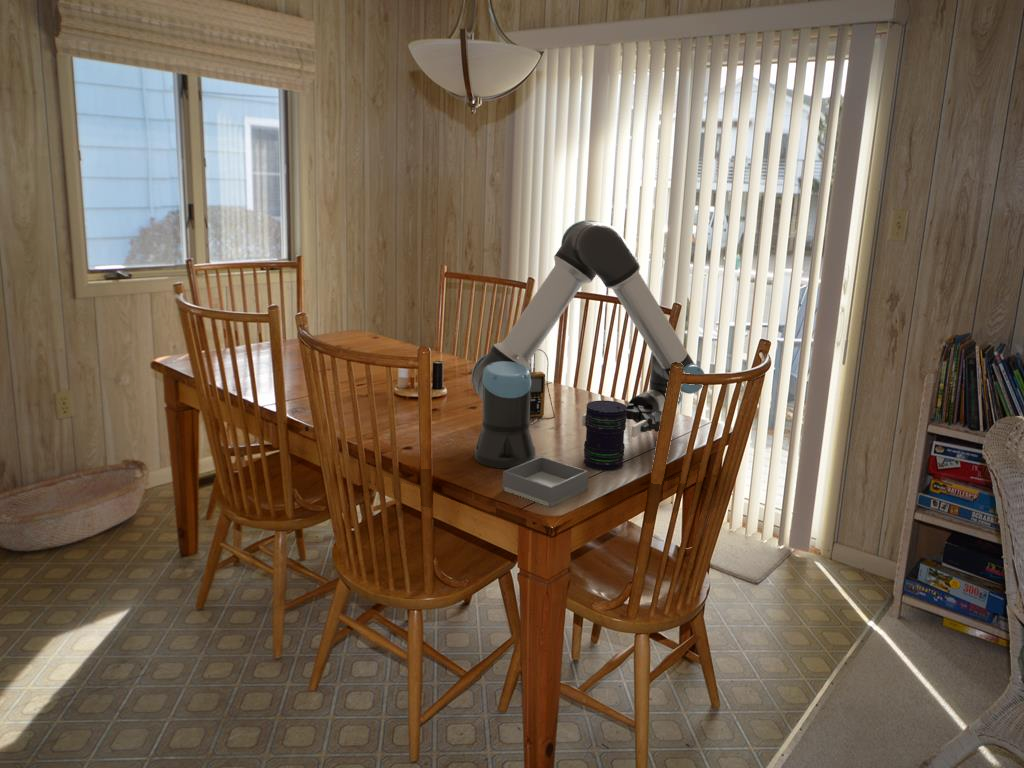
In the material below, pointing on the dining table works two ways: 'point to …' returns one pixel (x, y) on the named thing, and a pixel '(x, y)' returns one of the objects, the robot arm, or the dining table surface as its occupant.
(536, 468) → the cradle tray
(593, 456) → the dark blue ribbed cylinder
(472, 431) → the dining table surface
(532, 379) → the multimeter
